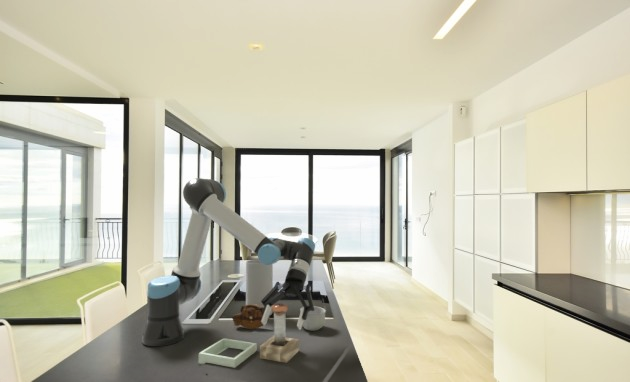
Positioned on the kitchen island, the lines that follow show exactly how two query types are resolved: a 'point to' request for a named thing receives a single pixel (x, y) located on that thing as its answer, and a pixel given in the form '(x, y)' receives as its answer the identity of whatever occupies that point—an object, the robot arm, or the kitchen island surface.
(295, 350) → the block
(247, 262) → the cylinder vase
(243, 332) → the kitchen island surface
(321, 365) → the kitchen island surface
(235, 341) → the tray
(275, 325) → the pin
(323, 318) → the teacup
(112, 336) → the kitchen island surface
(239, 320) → the wooden carving
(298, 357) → the kitchen island surface
